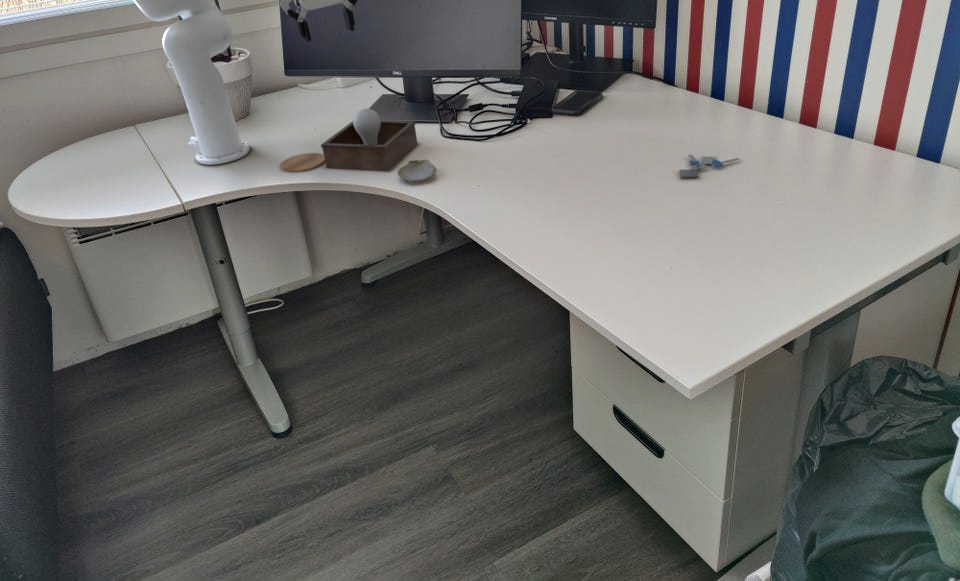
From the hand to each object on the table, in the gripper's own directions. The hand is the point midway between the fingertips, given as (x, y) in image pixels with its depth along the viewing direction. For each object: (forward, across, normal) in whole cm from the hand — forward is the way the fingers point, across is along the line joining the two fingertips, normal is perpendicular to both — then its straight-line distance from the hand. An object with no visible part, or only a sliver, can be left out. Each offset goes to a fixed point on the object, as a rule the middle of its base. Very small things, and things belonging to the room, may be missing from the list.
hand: (329, 35), depth 155 cm
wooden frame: (+28, -3, +2) cm, 28 cm away
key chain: (+30, -52, +55) cm, 81 cm away
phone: (+29, -57, +8) cm, 64 cm away
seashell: (+28, -6, +21) cm, 35 cm away
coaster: (+27, +11, -6) cm, 30 cm away
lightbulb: (+28, -3, +2) cm, 28 cm away
